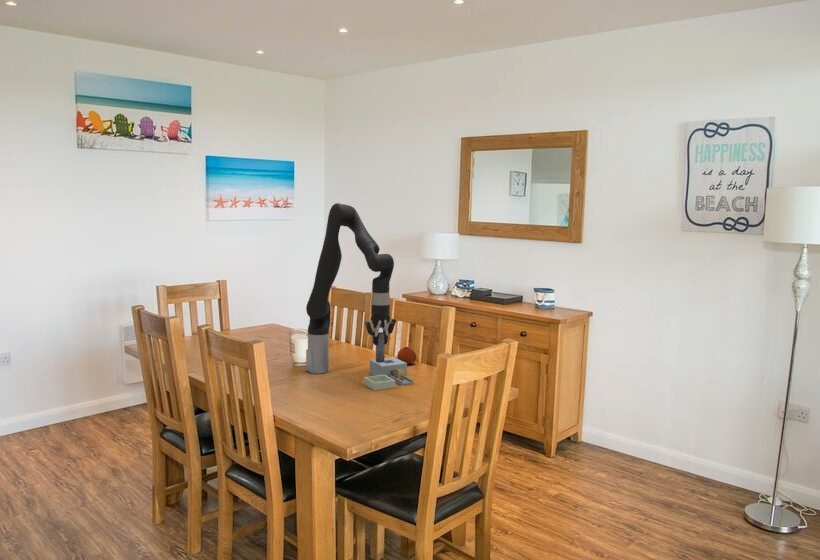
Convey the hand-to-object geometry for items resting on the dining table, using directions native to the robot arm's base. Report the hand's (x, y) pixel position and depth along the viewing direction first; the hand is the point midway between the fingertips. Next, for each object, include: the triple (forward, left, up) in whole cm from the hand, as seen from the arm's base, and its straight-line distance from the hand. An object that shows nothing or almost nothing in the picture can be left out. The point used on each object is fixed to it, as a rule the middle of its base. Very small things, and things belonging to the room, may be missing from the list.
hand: (380, 344), depth 265 cm
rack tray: (0, 0, -17) cm, 17 cm away
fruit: (+28, +26, -18) cm, 42 cm away
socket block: (+11, +7, -17) cm, 22 cm away
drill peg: (0, 0, -7) cm, 7 cm away
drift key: (+11, +6, -16) cm, 20 cm away
